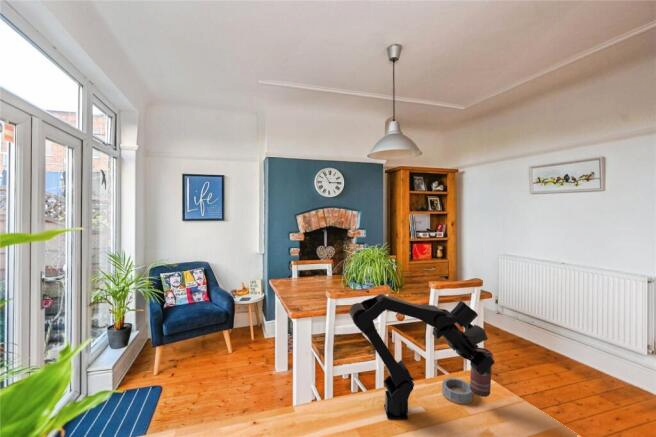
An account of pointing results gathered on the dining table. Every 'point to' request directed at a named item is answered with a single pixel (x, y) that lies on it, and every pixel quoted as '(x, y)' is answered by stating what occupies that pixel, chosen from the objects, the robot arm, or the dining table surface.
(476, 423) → the dining table surface
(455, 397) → the segmented gray ring
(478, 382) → the can
